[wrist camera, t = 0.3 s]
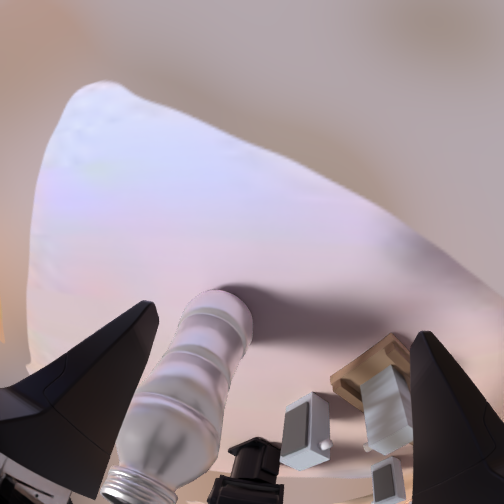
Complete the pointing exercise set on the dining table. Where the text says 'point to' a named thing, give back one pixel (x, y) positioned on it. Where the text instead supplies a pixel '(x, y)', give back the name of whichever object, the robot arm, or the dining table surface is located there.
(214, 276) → the dining table surface
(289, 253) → the dining table surface
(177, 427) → the plastic bottle
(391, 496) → the grey boxy piece
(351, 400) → the rail
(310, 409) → the box with small knob
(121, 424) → the robot arm
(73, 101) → the dining table surface
